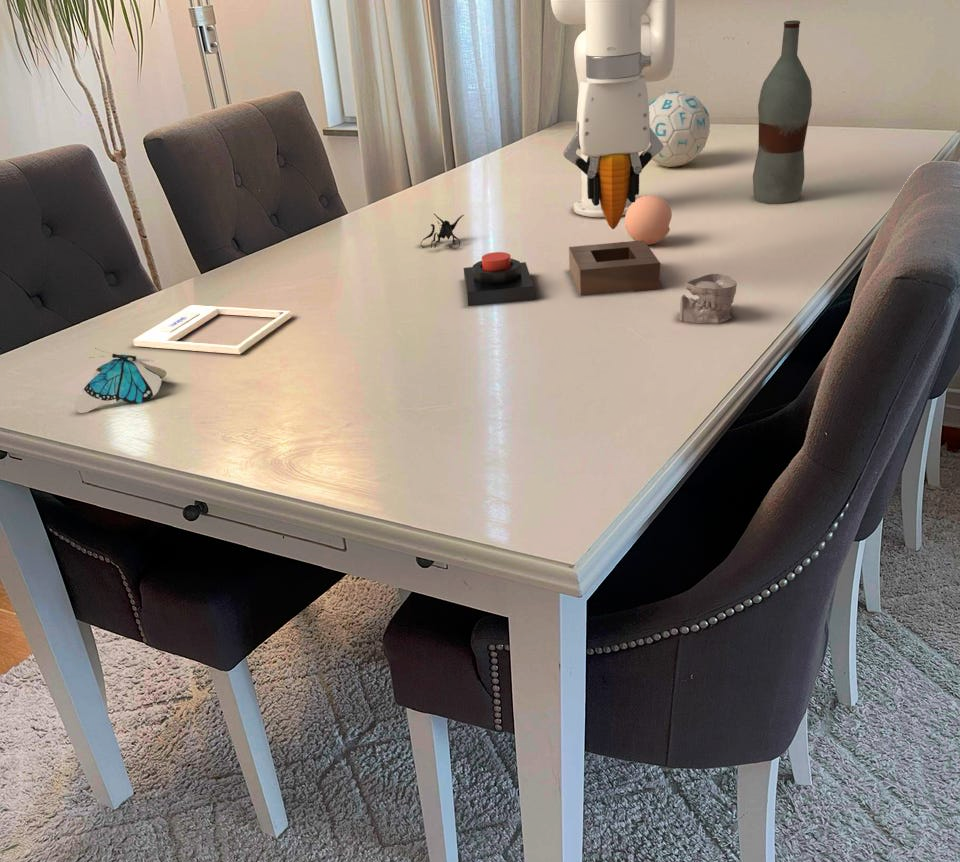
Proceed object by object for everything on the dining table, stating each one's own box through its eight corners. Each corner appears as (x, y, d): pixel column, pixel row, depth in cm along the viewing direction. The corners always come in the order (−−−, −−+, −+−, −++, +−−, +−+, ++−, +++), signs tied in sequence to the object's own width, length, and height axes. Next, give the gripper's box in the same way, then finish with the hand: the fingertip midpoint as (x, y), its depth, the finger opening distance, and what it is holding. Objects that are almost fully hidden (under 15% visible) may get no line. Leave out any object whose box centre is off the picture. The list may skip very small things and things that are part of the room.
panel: (464, 281, 153) (462, 256, 151) (526, 275, 153) (525, 250, 151) (468, 306, 143) (465, 280, 141) (534, 300, 143) (533, 274, 141)
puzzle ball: (718, 159, 211) (722, 86, 203) (692, 175, 200) (695, 98, 192) (654, 156, 218) (656, 85, 210) (626, 171, 208) (627, 97, 200)
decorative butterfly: (156, 375, 119) (71, 364, 117) (155, 422, 122) (73, 412, 120) (171, 345, 127) (93, 334, 125) (171, 389, 130) (94, 379, 129)
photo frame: (190, 303, 150) (290, 309, 144) (192, 310, 150) (291, 316, 144) (132, 338, 138) (238, 346, 132) (134, 345, 139) (239, 354, 133)
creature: (454, 258, 167) (472, 235, 172) (449, 230, 164) (467, 208, 169) (415, 255, 170) (434, 233, 175) (409, 228, 167) (428, 206, 172)
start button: (481, 264, 148) (480, 253, 147) (509, 262, 148) (509, 250, 147) (483, 273, 144) (482, 262, 143) (512, 270, 144) (511, 259, 143)
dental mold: (701, 330, 128) (703, 294, 126) (670, 316, 134) (671, 281, 131) (747, 317, 131) (750, 281, 128) (715, 303, 136) (717, 269, 134)
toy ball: (680, 241, 163) (682, 193, 158) (654, 253, 158) (655, 204, 154) (641, 234, 167) (642, 188, 163) (615, 246, 163) (615, 199, 159)
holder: (569, 271, 153) (568, 246, 151) (643, 264, 153) (643, 239, 151) (580, 296, 143) (580, 270, 141) (659, 288, 143) (660, 262, 141)
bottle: (747, 204, 179) (760, 25, 163) (754, 191, 186) (768, 19, 170) (799, 205, 176) (817, 23, 160) (804, 192, 183) (823, 17, 167)
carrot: (628, 233, 141) (629, 126, 133) (595, 233, 142) (594, 127, 134) (630, 223, 145) (632, 119, 138) (598, 224, 147) (597, 120, 139)
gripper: (667, 59, 135) (664, 190, 145) (549, 70, 135) (553, 200, 145) (680, 66, 129) (675, 203, 139) (555, 77, 129) (559, 213, 139)
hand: (613, 200), depth 142 cm, fingers closed on carrot, 4 cm apart
